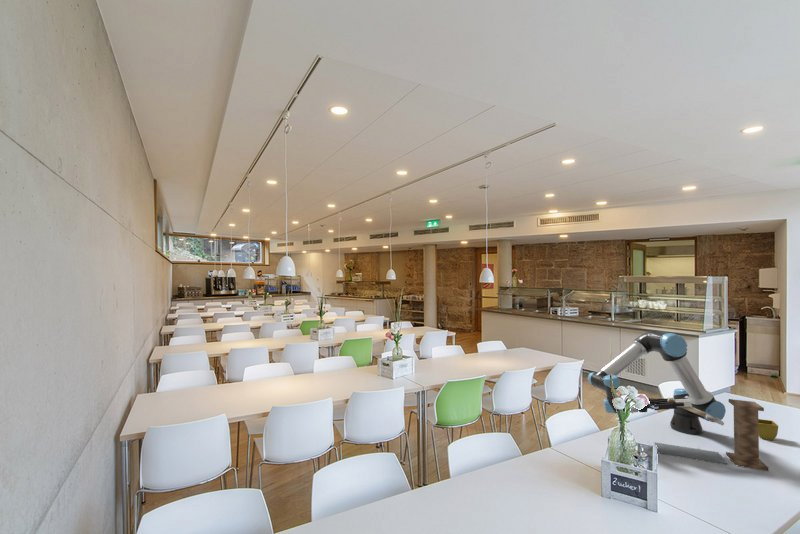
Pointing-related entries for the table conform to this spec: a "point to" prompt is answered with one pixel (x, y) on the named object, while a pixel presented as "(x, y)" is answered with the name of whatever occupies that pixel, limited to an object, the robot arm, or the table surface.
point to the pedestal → (746, 435)
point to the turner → (701, 413)
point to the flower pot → (767, 429)
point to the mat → (690, 453)
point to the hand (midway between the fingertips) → (690, 402)
